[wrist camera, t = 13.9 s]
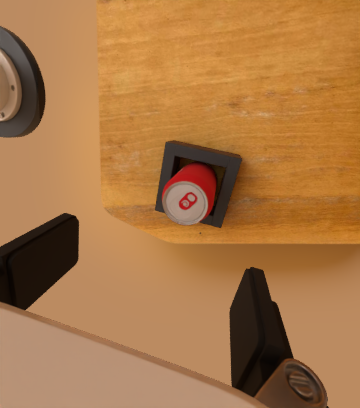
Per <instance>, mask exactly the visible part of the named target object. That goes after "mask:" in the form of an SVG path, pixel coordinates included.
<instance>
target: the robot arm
mask: <svg viewBox="0 0 360 408" xmlns="http://www.w3.org/2000/svg"><path fill="white" fill-rule="evenodd" d="M21 100H22V88H21V82H20V78H19V75H18V72H17V70H16V68H15V66H14V64H13V63H12V61H11V60H10V58H9V57H8V56H7V54H6V53H5V52H4V51H3V50H2V49H0V121H7V120H10V119H11V118H13V117H14V116H15V115H16V114H17V112H18V110H19V108H20V105H21ZM78 244H79V221H78V219H77V218H76V216H74V215H71V214H67V213H64V214H62V215H60V216H58V217H56V218H54V219H52V220H50V221H48V222H46V223H44V224H43V225H41V226H39V227H37V228H35V229H33V230H31V231H29V232H27V233H26V234H24V235H22V236H20V237H18V238H16V239H14V240H13V241H11V242H8V243H7V244H5V245H3V246H1V247H0V408H329V407H328V406H327V401H328V398H327V393H326V390H325V388H324V386H323V384H322V382H321V381H320V379H319V378H318V376H317V375H316V374H315V373H314V372H313V371H312V370H311V369H310V368H309V367H308V366H306V365H305V364H304V363H302V362H300V361H298V360H296V359H294V358H293V354H292V352H291V348H290V345H289V341H288V338H287V335H286V332H285V328H284V325H283V322H282V318H281V315H280V312H279V308H278V305H277V304H276V303H275V302H273V301H272V300H271V296H270V293H269V289H268V285H267V282H266V278H265V275H264V271H263V270H261V269H257V268H254V267H251V268H250V269H246V270H245V272H244V275H243V277H242V280H241V282H240V285H239V287H238V290H237V292H236V295H235V297H234V300H233V302H232V305H231V308H230V347H231V381H232V387H231V386H229V385H226V384H224V383H222V382H220V381H217V380H215V379H212V378H210V377H207V376H204V375H202V374H199V373H197V372H194V371H191V370H189V369H186V368H184V367H181V366H178V365H176V364H173V363H170V362H167V361H164V360H162V359H159V358H156V357H154V356H151V355H148V354H146V353H143V352H140V351H137V350H134V349H132V348H129V347H126V346H123V345H120V344H118V343H115V342H112V341H110V340H107V339H104V338H101V337H99V336H96V335H93V334H90V333H87V332H85V331H81V330H79V329H76V328H73V327H70V326H68V325H65V324H62V323H59V322H56V321H54V320H51V319H48V318H45V317H42V316H39V315H36V314H33V313H31V312H28V311H25V310H26V309H27V308H28V307H30V306H31V305H32V304H33V303H34V302H35V301H36V300H37V299H38V298H39V297H41V296H42V295H43V294H44V293H45V292H46V291H47V290H48V289H49V288H50V287H51V286H53V285H54V284H55V283H56V282H57V281H58V280H59V279H60V278H61V277H62V276H63V275H64V274H66V273H67V272H68V271H69V270H70V269H71V268H72V267H73V266H74V265H75V264H76V263H77V261H78Z"/></svg>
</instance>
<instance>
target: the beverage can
mask: <svg viewBox="0 0 360 408" xmlns="http://www.w3.org/2000/svg"><path fill="white" fill-rule="evenodd" d="M216 185H217V177H216V174H215V172H214V170H213V169H212V167H210V166H209V165H208V164H206V163H204V162H198V161H197V162H191V163H189V164H187V165H186V166H184V167H183V168H182V169H181V170H180V171H179V172H178V173H177V174H176V175H175V176H174V177H172V178H171V179H170V180H169V181H168V182H167V184H166V185H165V187H164V189H163V193H162V203H163V208H164V211H165V213H166V215H167V216H168V217H169V218H170V219H171V220H172V221H174V222H176V223H178V224H181V225H193V224H196V223H198V222H200V221H202V220H203V219H205V218H206V217H207V216H208V215H209V213H210V212H211V210H212V207H213V203H214V197H215V191H216Z"/></svg>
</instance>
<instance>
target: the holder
mask: <svg viewBox="0 0 360 408" xmlns="http://www.w3.org/2000/svg"><path fill="white" fill-rule="evenodd" d="M180 157H182V158H187V159H191V160H195V161H199V162H204V163H208V164H212V165H217V166H221V167H225V171H224V175H223V178H222V182H221V186H220V189H219V193H218V196H217V200H216V204H215V206H213V207H212V210H211V212H210V213H209V215H208V216H207V217H206V218H205V219H203V220H202V221H200V223H204V224H208V225H211V226H215V227H219V228H221V226H222V223H223V220H224V217H225V213H226V210H227V207H228V203H229V200H230V197H231V194H232V190H233V187H234V184H235V180H236V177H237V174H238V171H239V167H240V164H241V161H242V158H241V156H240V155H237V154H233V153H228V152H224V151H219V150H215V149H210V148H206V147H201V146H197V145H192V144H188V143H183V142H179V141H174V140H173V141H168V142H166V144H165V151H164V157H163V163H162V169H161V176H160V182H159V188H158V194H157V201H156V207H155V210H156V211H159V212H163V213H165V211H164V208H163V203H162V193H163V189H164V187H165V185H166V184H167V182H168V181H169V180H170V179H171V178H172V177H174V176H175V175H176V174H177V172H178V167H179V161H180Z"/></svg>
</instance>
